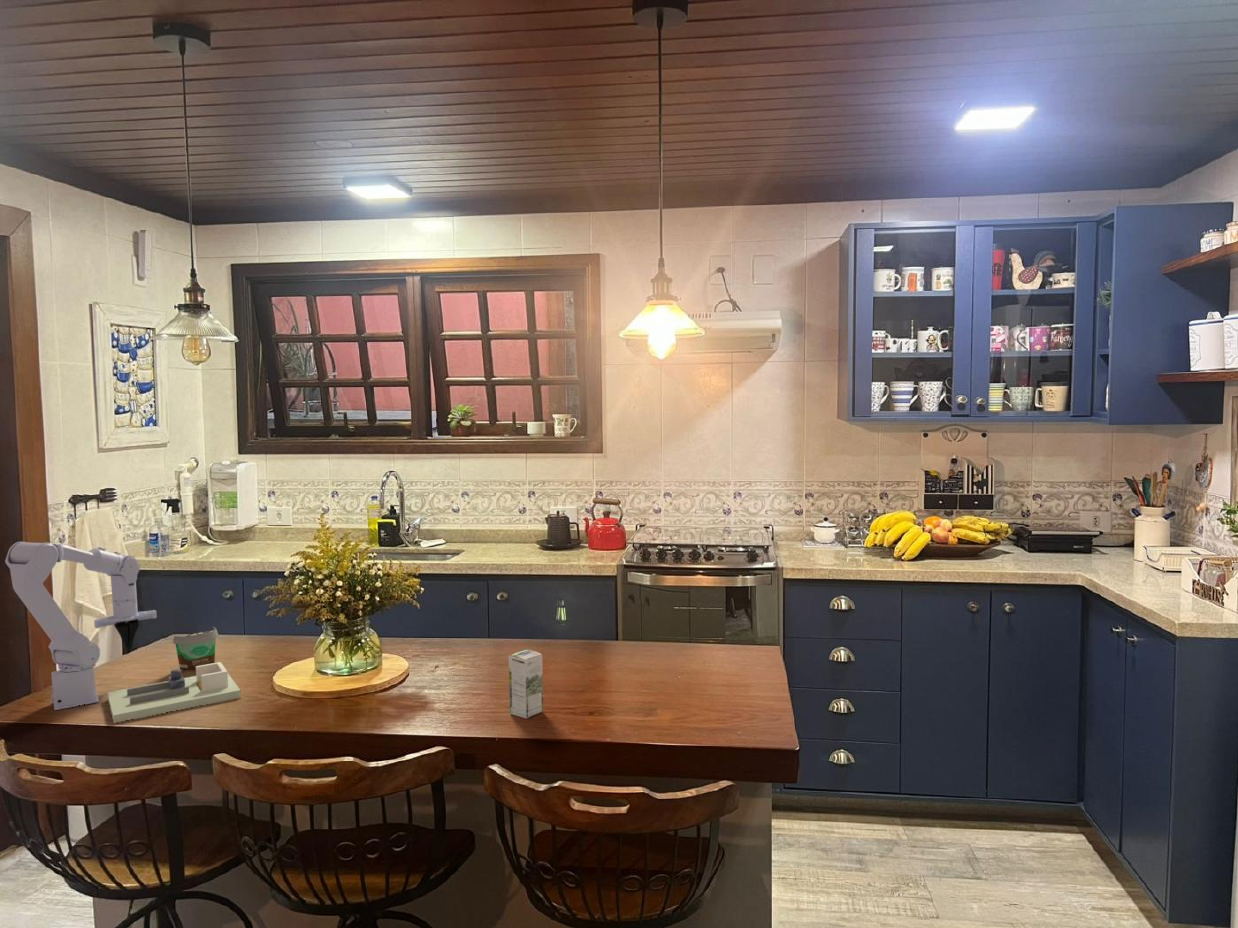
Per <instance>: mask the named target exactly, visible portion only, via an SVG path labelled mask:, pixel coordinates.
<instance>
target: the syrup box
mask: <svg viewBox="0 0 1238 928" xmlns="http://www.w3.org/2000/svg"><path fill="white" fill-rule="evenodd" d="M543 674H544V673H543V654H542V653H540V652H538V651H535V650H531V649H524V650H522V651H518V652H514V653H513V654H509V655H508V680H509V682H508V683H509V713H510V715H513V716H516V717H518V718H522V719H526V720H527V719H530V718H531V717H534V716H537V715H538V714H541V713H543V712H544V692H543V691H544V688H543V685H544V684H543V680H544V679H543V678H544V677H543Z"/></svg>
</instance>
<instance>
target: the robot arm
mask: <svg viewBox="0 0 1238 928" xmlns="http://www.w3.org/2000/svg"><path fill="white" fill-rule="evenodd" d="M106 549H107V548H105V547H100V546H98V547H97V548H91V549H89V550H84V549H81V548H80V549H79V548H77V547H74V546H73V547H72V546H71V545H66V544H61V543H51V542H27V541H17V542H15V543H14V544H12V545H11V546H10V547H9V549H8V552H7V555H6V557H5V560H4V562H5V564H6V566H7V567H8V568H9V571H10V579H11V584H12V589H13V591H14V592H15V593H16V595H17V596H18V598H19V599H20V600H21V602H22V603H23V605H24V606H25V607H26V608H27V610H28V611H29V612H30V613H31V616H32V617H33V618H34V620H35V621H36V622H37V623H38V625H39V626H40V627H41V629H42V630H43V632H44V633H45V634H46V635H47V637H48V638H49V639H50V641H51V642H50V643H49V645H48V649H49V651H50V652H51V658H52V661H53V662H54V663H55V664H56V665H58V670H55V671H51V686H52V693H51V694H50V696H51V702H53V710H54V711H57V710H58V711H59V710H63V709H69V708H73V707H74V708H75V707H78V706H79V705H80V706H84V704H85V705H89V704H95V703H99V702H100V699H99V695H98V692H97V691H96V689H97V688H96V679H95V678H96V676H95V667H96V663H98V661H99V659H100V656H101V650H100V649H101V648H100V646H99V645H98V644H97V643H95V642H92V641H91V640H90V638H88V636H86V635H84V634H82V633H80V631H77V630H76V629H75V627H74V626H73V624H72V623H71V621H70V620H69V619H68V617H67V616H66V615H65V614H64V612H63V610H62V609H61V608H60V606H59V604H58V603H57V601H55V600H54V598H53V597H52V595H51V593H50V592H49V591H48V589H47V587H46V586H45V585H44V582H45V581H47V579H48V577H49V576H50V574H51V572H52V571H53V569H54V568H55V566H56V564H57V563H61V562H62V561H68V562H72V563H79V564H82V565H83V566H84V568H85V569H86V570H87V571H91V572H96V573H101V574H105V575H107V576H108V577H110V585H111V586H110V587H111V598H112V611H113V615H112V616H106V617H102V618H97V619H94V620H93V622H94V628H95V629H99V628H100V629H101V628H102V627H109V626H114V628H115V630H116V631H117V632H118V634H119V637H120V639H121V641H122V643H123V647H124V649H125V650H126V651H128V650H129V651H130V650H132V649H133V642H134V639H135V636H136V633H137V630H138V629H139V626H140V622H139V621H144V620H149V619H157V618H158V616H157V615H158V614H157V613H158V612H157V610H155V609H153V610H145V611H139V610H138V598H137V597H138V594H137V580H138V573H139V572H140V569H141V564H140V563H139V561H138V560H137V558H136V557H134V556H133V555H122V554H121V552H118V551H114V552H111V551H108V550H106Z"/></svg>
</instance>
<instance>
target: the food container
mask: <svg viewBox="0 0 1238 928" xmlns="http://www.w3.org/2000/svg"><path fill="white" fill-rule="evenodd" d="M212 627H213V628H212V629H210V630H207V631H200V632H194V633H190V634H188V635H186V636H179V635H178V636H176V635H174V636H173V639H172V644H174V645H175V649H176V654H177V660H178V665H179V669H181V671H196V666H201V665H206V664H212V663H216V662H215V660H216V642H217V641H216V638H218V636H219V632H218V630H217V628H216V627H215V626H212Z"/></svg>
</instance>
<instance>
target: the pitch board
mask: <svg viewBox="0 0 1238 928" xmlns="http://www.w3.org/2000/svg"><path fill="white" fill-rule="evenodd" d="M227 674H228V687H223V688H218V689H213V690H208V691H200V690H199V684H200V682H197V678H196V675H195V676H188V677H183V678H184V680H185V687H181V688H176V689H171V690H170V689H169V680H168V681H167V680H166V681H162V682H155V683H151V684H146V685H141V686H140V685H139V686H135V687H134V686H133V687H129V688H123V689H117V690H112V691H108V692H107V702H108V706H109V705H110V706H109V709H110V710H109V711H110V713H111V717H112V722H113V724H116V723H115V722H119V723H122V722H121V721H124V722H126V721H125V720H129V719H134V720H138V718H139V719H142V718H143V719H144V718H148V716H149V717H153V716H157V714H158V715H162V714H161V713H163V714H166V712H168V713H170V712H169V711H173V712H177V711H176V710H178V711H182V710H181V709H183V710H186V709H185V708H188V709H190V707H193V708H196V707H195V706H198V707H200V706H199V705H203V706H207V705H206V704H208V705H212V704H217V703H221V702H227V701H231V700H236V699H241V698H242V694H241V689H240V688H239V686H238V685H237V684H236V682H235V681H234V679H233V678H232V677H231V675H230V674H229V671H227ZM152 715H153V716H152ZM129 721H130V720H129Z"/></svg>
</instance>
